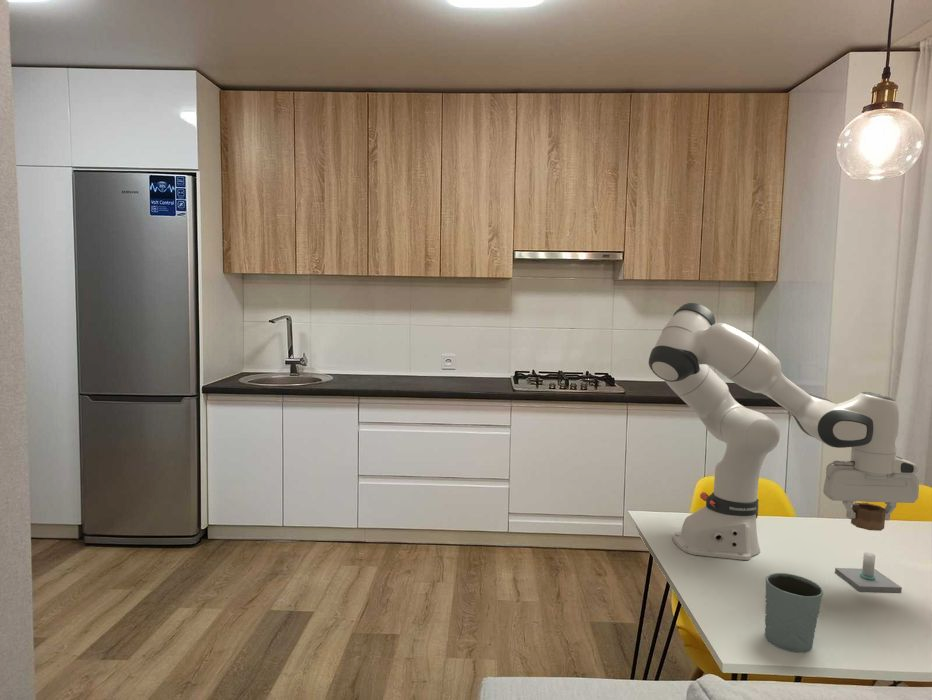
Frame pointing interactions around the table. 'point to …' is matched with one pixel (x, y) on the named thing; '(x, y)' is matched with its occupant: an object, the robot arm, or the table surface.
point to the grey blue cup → (791, 611)
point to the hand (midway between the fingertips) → (867, 518)
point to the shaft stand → (868, 577)
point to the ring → (869, 516)
